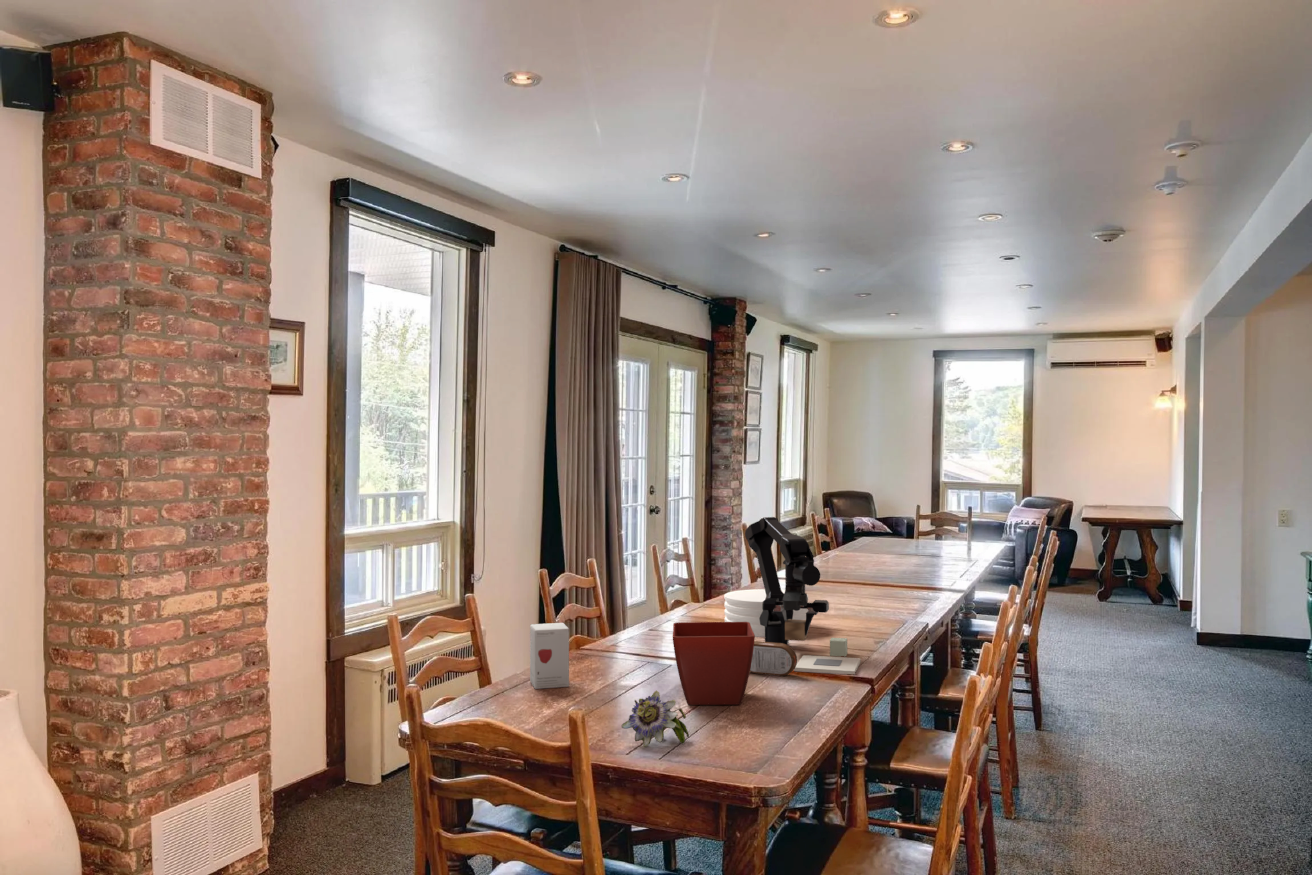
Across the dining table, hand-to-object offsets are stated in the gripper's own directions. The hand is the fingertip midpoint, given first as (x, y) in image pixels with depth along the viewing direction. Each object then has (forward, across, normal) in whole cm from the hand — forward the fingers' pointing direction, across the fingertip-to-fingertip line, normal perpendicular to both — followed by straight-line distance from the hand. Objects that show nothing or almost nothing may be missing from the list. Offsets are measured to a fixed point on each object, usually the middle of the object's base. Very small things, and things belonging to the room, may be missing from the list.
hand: (795, 634), depth 270 cm
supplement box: (+6, -55, -52) cm, 76 cm away
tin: (+6, -3, -26) cm, 27 cm away
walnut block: (+1, 0, 0) cm, 1 cm away
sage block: (+6, +12, +3) cm, 14 cm away
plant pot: (+6, -11, -54) cm, 55 cm away
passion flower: (+6, -14, -89) cm, 90 cm away
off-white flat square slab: (+6, +11, -13) cm, 18 cm away
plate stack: (+6, -16, +37) cm, 41 cm away
